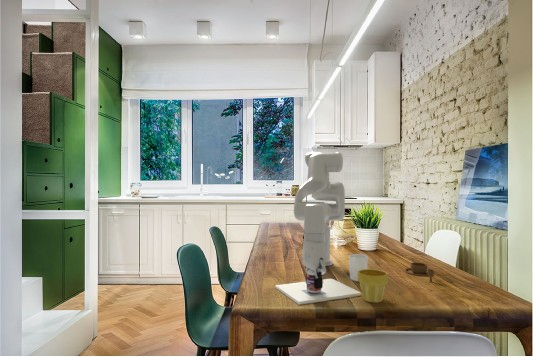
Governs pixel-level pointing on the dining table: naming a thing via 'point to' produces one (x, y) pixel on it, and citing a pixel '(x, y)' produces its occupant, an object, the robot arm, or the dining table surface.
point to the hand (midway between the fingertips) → (314, 285)
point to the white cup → (357, 265)
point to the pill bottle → (311, 281)
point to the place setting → (420, 270)
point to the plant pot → (372, 284)
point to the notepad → (328, 292)
